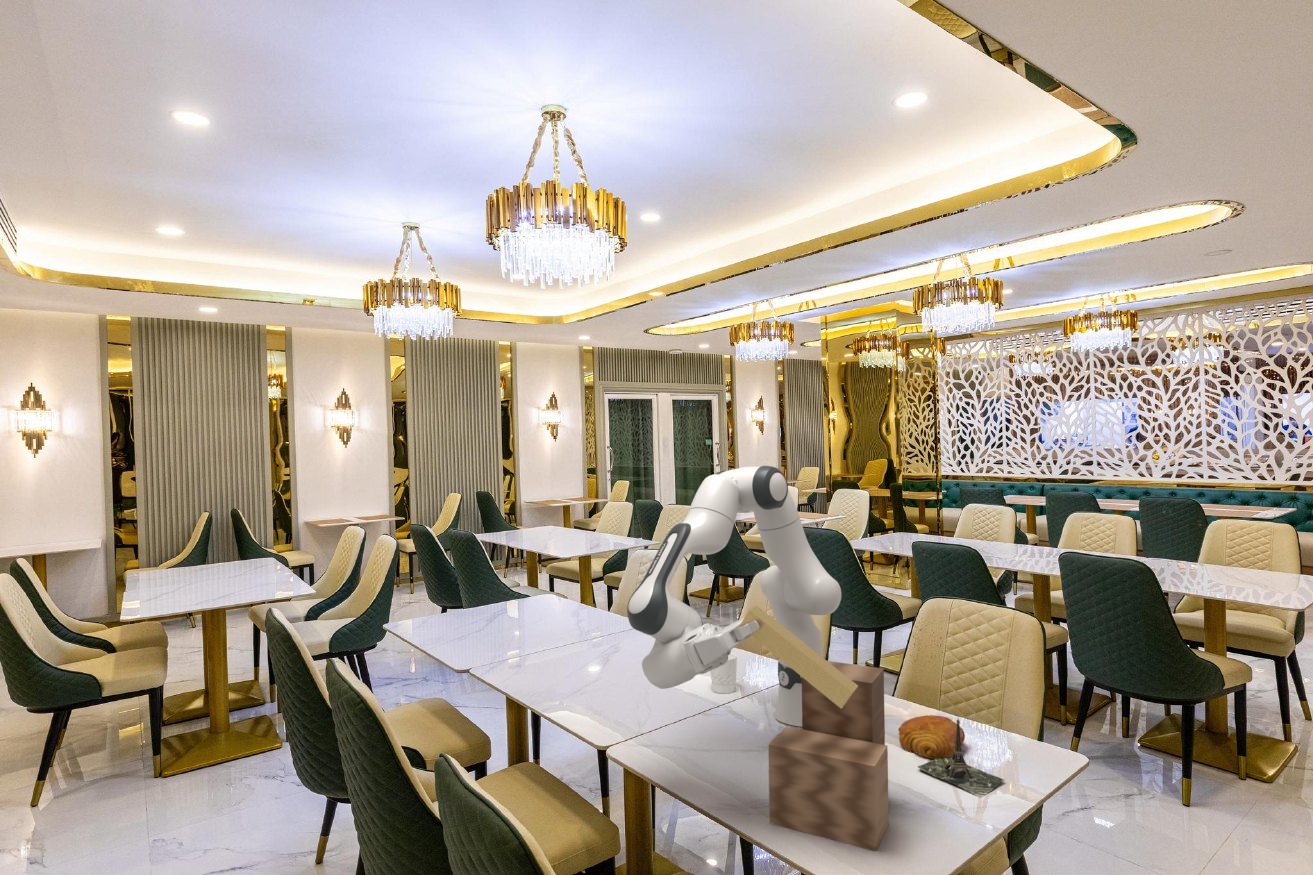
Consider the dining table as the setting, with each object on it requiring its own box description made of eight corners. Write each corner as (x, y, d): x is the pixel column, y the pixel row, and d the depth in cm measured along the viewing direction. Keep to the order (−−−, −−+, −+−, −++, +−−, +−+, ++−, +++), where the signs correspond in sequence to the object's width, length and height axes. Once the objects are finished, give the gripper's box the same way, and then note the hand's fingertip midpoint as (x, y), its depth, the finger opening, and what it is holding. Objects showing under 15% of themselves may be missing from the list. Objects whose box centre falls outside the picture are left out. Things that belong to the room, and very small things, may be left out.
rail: (739, 625, 146) (749, 610, 145) (747, 620, 150) (756, 605, 149) (841, 708, 137) (852, 692, 135) (847, 701, 140) (858, 685, 139)
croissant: (972, 754, 175) (974, 719, 176) (948, 767, 163) (951, 730, 164) (912, 736, 185) (914, 704, 185) (886, 748, 173) (888, 713, 174)
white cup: (736, 695, 211) (735, 660, 211) (708, 693, 212) (707, 658, 212) (738, 685, 218) (738, 652, 218) (712, 684, 220) (711, 651, 220)
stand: (769, 823, 141) (767, 686, 141) (804, 778, 159) (803, 657, 159) (876, 850, 131) (873, 704, 131) (900, 799, 149) (898, 670, 149)
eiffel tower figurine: (1007, 783, 155) (1006, 719, 155) (980, 797, 149) (980, 732, 149) (942, 757, 168) (942, 699, 167) (915, 770, 162) (915, 709, 161)
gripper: (736, 647, 160) (789, 622, 154) (694, 675, 142) (751, 649, 136) (723, 620, 162) (774, 594, 156) (679, 645, 144) (736, 617, 138)
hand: (763, 620), depth 146 cm, fingers closed on rail, 4 cm apart
